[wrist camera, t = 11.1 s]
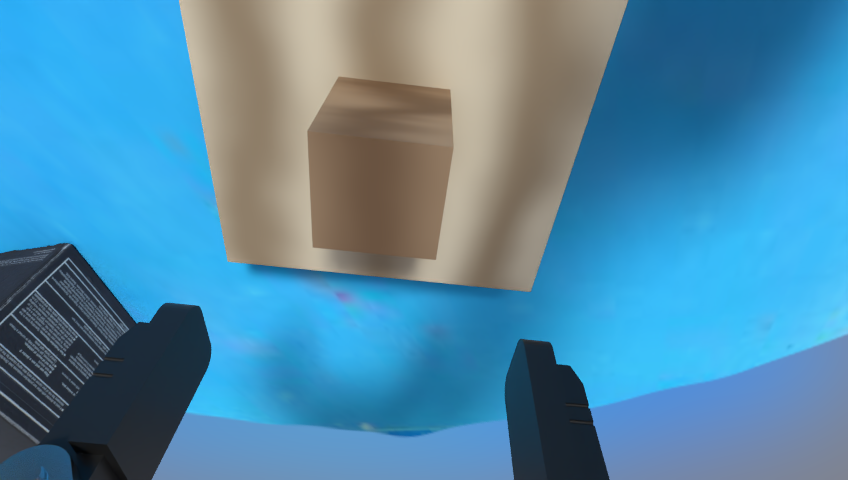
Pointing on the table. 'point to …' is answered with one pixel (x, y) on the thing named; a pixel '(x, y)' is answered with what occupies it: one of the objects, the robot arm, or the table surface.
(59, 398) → the small box
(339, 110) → the walnut block
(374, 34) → the birch plinth
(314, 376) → the table surface
